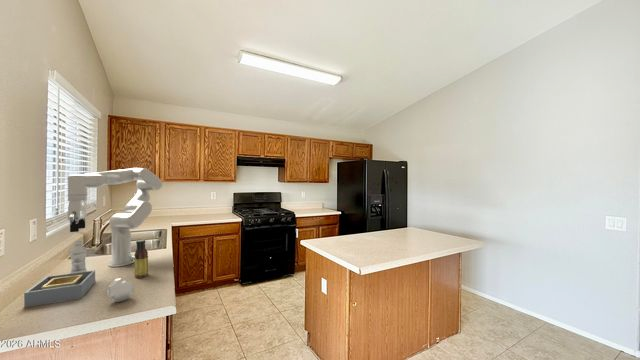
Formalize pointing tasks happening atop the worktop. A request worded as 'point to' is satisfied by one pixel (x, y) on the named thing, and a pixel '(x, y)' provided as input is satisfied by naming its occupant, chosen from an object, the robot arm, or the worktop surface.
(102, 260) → the worktop surface
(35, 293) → the walled box
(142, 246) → the sauce bottle
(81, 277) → the olive square tray
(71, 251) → the plastic bottle
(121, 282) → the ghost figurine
